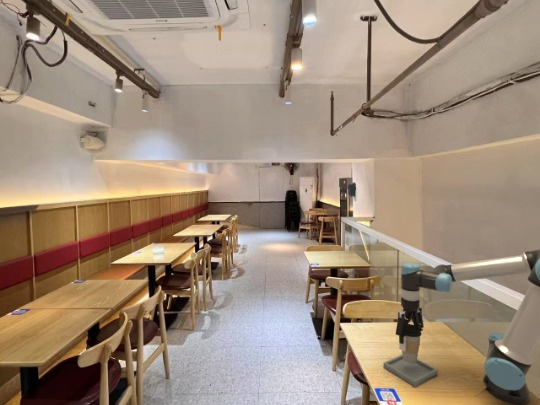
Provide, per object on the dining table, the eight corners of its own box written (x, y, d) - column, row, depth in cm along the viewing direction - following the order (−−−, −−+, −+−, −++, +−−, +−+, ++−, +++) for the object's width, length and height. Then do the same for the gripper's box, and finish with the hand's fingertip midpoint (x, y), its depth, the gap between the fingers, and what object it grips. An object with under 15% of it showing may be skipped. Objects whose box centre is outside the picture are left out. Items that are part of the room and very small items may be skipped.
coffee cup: (424, 367, 129) (424, 333, 129) (400, 364, 131) (401, 331, 130) (417, 355, 138) (418, 323, 138) (396, 353, 140) (396, 322, 140)
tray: (437, 375, 132) (437, 369, 132) (415, 387, 124) (415, 381, 124) (405, 357, 146) (405, 352, 146) (383, 367, 138) (383, 362, 138)
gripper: (417, 291, 142) (417, 337, 143) (386, 300, 131) (386, 349, 132) (432, 296, 136) (432, 344, 137) (401, 306, 125) (401, 358, 126)
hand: (409, 346), depth 134 cm, fingers closed on coffee cup, 9 cm apart
